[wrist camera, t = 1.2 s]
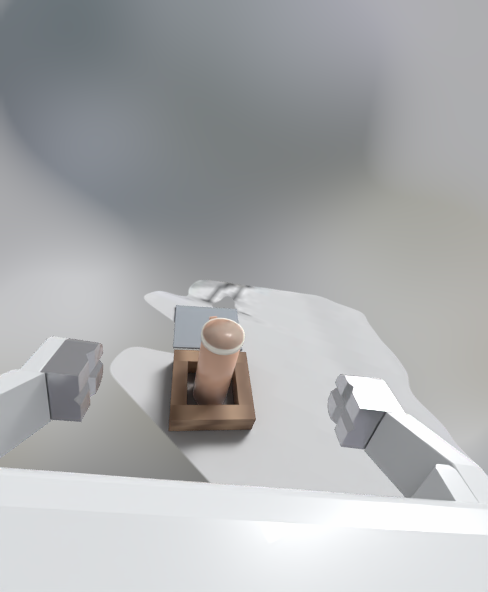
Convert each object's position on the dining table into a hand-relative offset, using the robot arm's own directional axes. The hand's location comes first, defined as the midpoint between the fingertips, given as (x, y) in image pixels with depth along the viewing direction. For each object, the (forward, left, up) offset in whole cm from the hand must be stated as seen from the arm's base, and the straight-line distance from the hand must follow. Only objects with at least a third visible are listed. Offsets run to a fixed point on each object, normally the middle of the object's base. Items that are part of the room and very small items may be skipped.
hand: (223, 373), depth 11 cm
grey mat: (+5, +40, -40) cm, 57 cm away
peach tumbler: (+5, +25, -40) cm, 48 cm away
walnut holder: (+5, +24, -40) cm, 47 cm away
